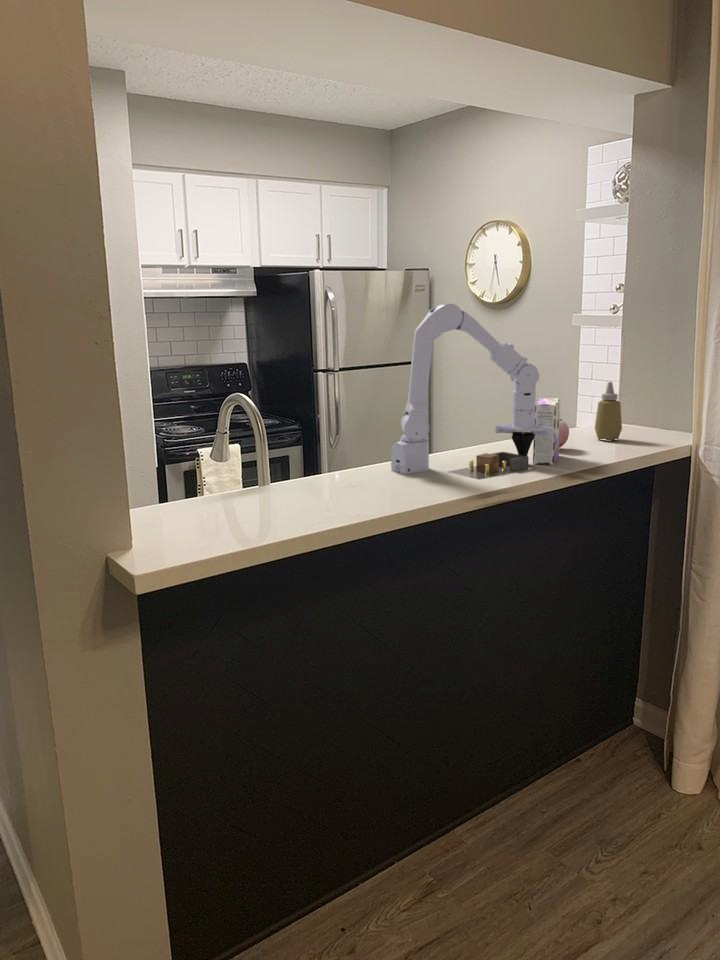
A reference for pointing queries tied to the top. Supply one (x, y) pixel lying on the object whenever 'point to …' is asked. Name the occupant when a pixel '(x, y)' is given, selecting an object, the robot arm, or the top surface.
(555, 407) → the candy box
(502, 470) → the base plate
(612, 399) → the squeeze bottle
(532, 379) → the robot arm
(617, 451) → the top surface
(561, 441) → the decorative fruit
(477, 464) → the walnut block
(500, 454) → the housing
